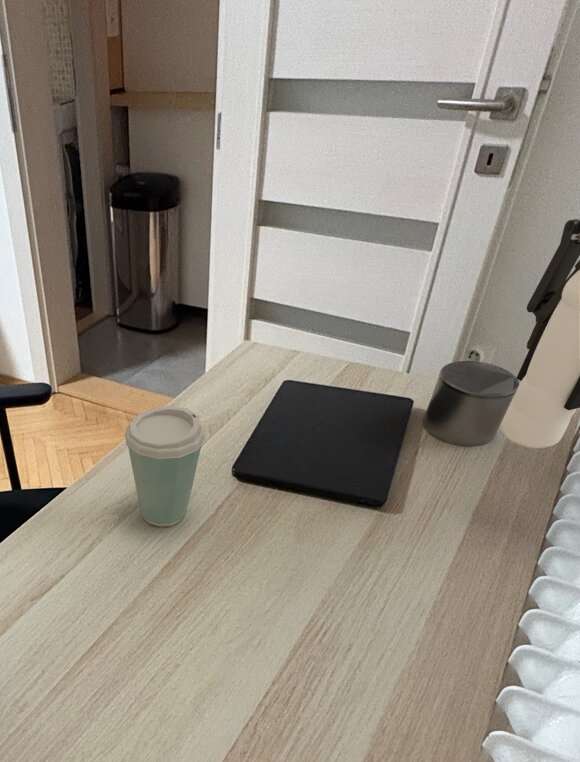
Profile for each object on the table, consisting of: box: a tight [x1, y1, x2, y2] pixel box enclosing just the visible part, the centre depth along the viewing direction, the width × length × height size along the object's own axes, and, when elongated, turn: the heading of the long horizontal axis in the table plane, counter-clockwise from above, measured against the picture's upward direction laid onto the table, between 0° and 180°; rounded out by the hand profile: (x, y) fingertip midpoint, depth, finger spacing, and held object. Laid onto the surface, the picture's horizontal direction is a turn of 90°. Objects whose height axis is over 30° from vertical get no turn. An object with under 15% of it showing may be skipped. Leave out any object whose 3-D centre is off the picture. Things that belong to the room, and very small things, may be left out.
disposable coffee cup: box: [124, 405, 206, 527], centre depth 86 cm, size 11×11×15 cm
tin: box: [422, 360, 520, 447], centre depth 102 cm, size 12×12×9 cm
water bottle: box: [500, 270, 580, 449], centre depth 70 cm, size 7×7×25 cm
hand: (550, 391), depth 75 cm, fingers closed on water bottle, 7 cm apart
